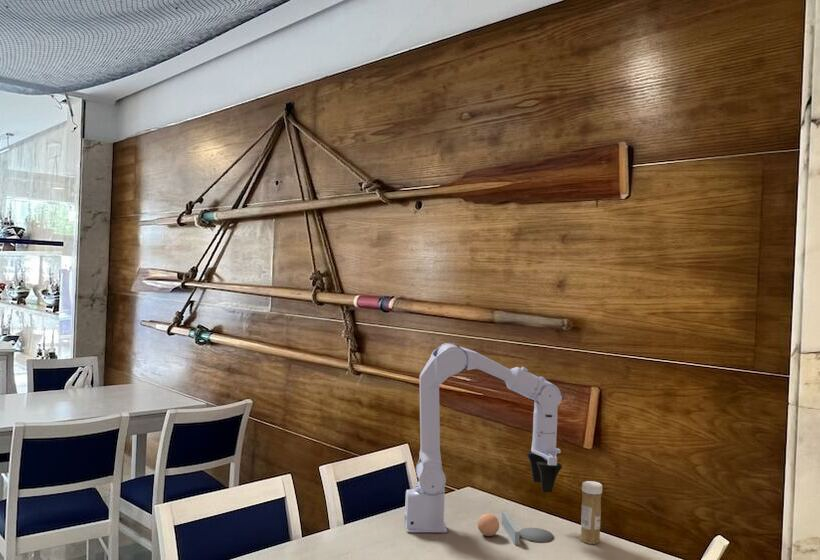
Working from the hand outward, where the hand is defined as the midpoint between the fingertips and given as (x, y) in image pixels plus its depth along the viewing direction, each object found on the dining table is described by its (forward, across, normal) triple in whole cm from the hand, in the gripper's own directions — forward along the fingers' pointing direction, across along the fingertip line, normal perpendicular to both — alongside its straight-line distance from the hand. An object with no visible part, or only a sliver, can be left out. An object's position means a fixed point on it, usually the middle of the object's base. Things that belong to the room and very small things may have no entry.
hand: (542, 486), depth 161 cm
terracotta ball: (+10, -5, +14) cm, 18 cm away
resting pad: (+10, -5, +2) cm, 11 cm away
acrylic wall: (+10, -4, +8) cm, 14 cm away
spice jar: (+10, -8, -10) cm, 16 cm away
